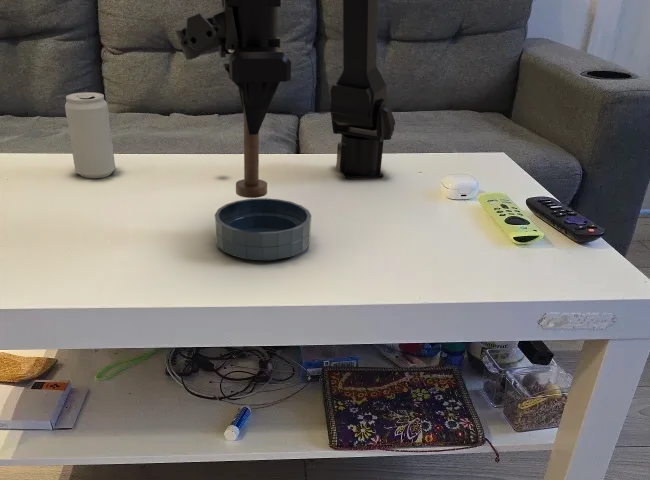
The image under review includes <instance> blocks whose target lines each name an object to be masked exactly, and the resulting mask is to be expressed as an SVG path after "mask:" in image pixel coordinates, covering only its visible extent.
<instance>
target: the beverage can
mask: <svg viewBox="0 0 650 480" xmlns="http://www.w3.org/2000/svg"><path fill="white" fill-rule="evenodd" d="M104 95H105V94H103V93H100V92H86V91H85V92H75V93H70V94H68V95H66V96H65V100H66V102H65V104H64V109H65V116H66V121H67V128H68V134H69V141H70V148H71V153H72V158H73V165H74V170H75V172H76V174H78V175H80V176H81V177H83V178H86V179H102V178H106V177H109V176H110V175H112V173H113V172H115V170H116V161H115V154H114V153H115V152H114V145H113V138H112V130H111V122H110V116H109V115H110V114H109V113H110V112H109V108H108V107H109V106H108V102H107V101H106V100H105V96H104Z"/></svg>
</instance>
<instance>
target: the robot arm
mask: <svg viewBox="0 0 650 480" xmlns="http://www.w3.org/2000/svg"><path fill="white" fill-rule="evenodd" d="M220 1H221V2H220V3H221V5H220V6H221V7H219V8H216V9H214V10H212V11H208V12H205V13H203V14H202V13H201V12H200V11H197V12H196V14H193V15H191V16H189V15H187V16H186V20H185V21H183V22H181V23H179V24H177V25H176V26H174V30H175V31H174V32H175V33H176V36H177V39H178V41H179V44H180V46H181V50H182V52H183V54H184V57H185V59H186V61H190V60H193V59H196V58H198V57H199V56H200V55H201V54H203V53H206V52H208V51H211V50H213V49H216V48H218V54H219V57H220V58H221V59H222V58H223V59H224V58H225V59H226V58H227V55H229V56H228V63H223V67H224V70H225V71H226V73H227V76H228V78H229V80H230V81H231V82H233V84H234V85H235V86H237V90H238V94H239V99H240V103H241V108H242V114H243V115H244V112H245V117H246V123H247V128H248V133H249V134H250V135H257V134H258V132H259V133H260V129H261V127H262V126H263V122H264V120H265V118H266V115H267V114H268V113H267V112H268V111H269V108H270V106H271V104H272V101H273V99H274V98H275V94H276V92H277V90H278V88H279V86H280V83H286V82H291V80H292V60H291V59H290V58H289V57H288V56H287V55H286V54H285V53H284V52H283V50H282V49H281V38H280V37H279V36H278V10H279V9H278V8H280V7H282V4H281V3H282V0H220ZM378 10H379V0H342V58H343V59H342V62H343V64H342V65H343V66H342V72H341V74H339V77H338V79H337V81H336V82H335V84H332V85H331V88H330V110H329V112H330V118H331V126H332V127H331V128H332V134H334V135H341V137H340V142H338V143H337V148H336V149H337V151H336V166H335V168H336V169H337V170H338V172H339V173H340V174H341V176H342V177H343V179H345V180H357V179H358V180H360V179H380V178H381V179H382V178H384V176H385V174H384V173H383V172H382V171H381V169H382V161H383V151H384V141H390V140H392V137H393V134H394V131H395V125H396V121H395V117H394V115H393V112H392V109H391V107H390V103H389V102H388V92H387V91H388V89H387V83H386V82H385V79H384V78H383V76H382V74H381V72H380V71H379V68H378V67H377V50H378V49H377V48H378V47H377V46H378V16H379V15H378V13H379V11H378Z"/></svg>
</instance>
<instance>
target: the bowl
mask: <svg viewBox="0 0 650 480" xmlns="http://www.w3.org/2000/svg"><path fill="white" fill-rule="evenodd" d="M311 230H312V214H311V212H310V210H309V209H307V208H306V207H305V206H303V205H301V204H299V203H297V202H296V203H295V202H294V201H291V200H290V201H289V200H285V199H280V198H268V197H267V198H266V197H258V198H246V199H240V200H235V201H232V202H229V203H226V204H224V205H222V206H221V207H219V208H218V209H217V210H216V212H215V213H214V233H215V242H216V246H217V247H218V248H219V249H220V250H221V251H223V252H224V253H227V254H229V255H231V256H233V257H236V258H237V257H238V258H241V259H245V260H250V261H261V262H262V261H263V262H264V261H265V262H266V261H276V260H282V259H286V258H290V257H294V256H297V255H298V254H301V253H302V252H304V251H305V250H306V249H307V248H309V246H310V243H311V235H312V234H311V233H312V232H311Z"/></svg>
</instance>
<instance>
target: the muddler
mask: <svg viewBox="0 0 650 480" xmlns="http://www.w3.org/2000/svg"><path fill="white" fill-rule="evenodd" d="M259 149H260V131H259V132H258V134H257V135H250V134H249V133H248V128H247V123H246V117H245V112H244V114H243V176H244V177H243V179H239V180H237V181H236V182H235V194H236V195H237V196H238V197H241V198H246V199H257V198H263V197H265V196H267V194H268V182H267V181H266V180H263V179H260V177H259V173H260V171H259V169H260V165H259V163H260V154H259V153H260V150H259Z"/></svg>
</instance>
